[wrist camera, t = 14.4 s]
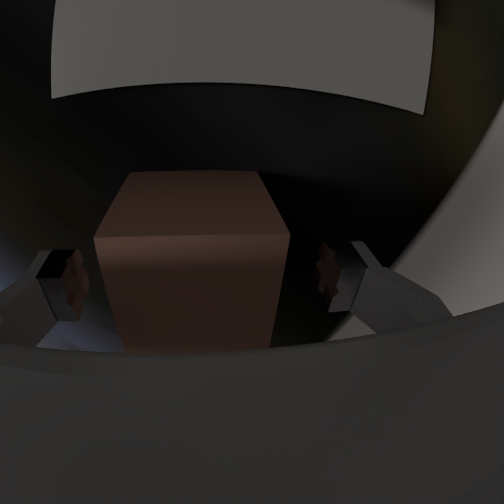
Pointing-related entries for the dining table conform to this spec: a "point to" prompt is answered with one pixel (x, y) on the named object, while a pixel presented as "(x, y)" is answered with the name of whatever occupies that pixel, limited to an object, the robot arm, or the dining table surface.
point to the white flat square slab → (248, 45)
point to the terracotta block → (193, 261)
